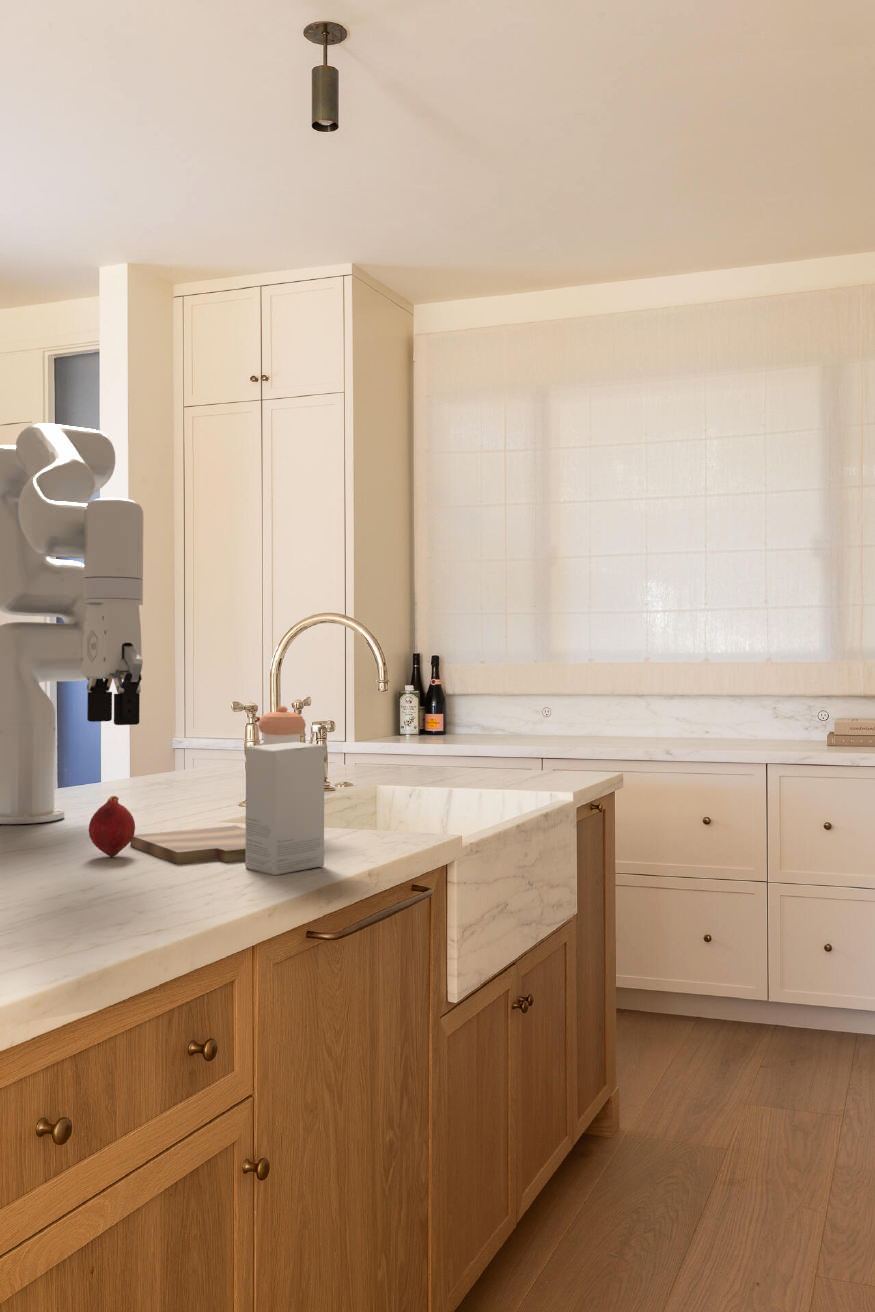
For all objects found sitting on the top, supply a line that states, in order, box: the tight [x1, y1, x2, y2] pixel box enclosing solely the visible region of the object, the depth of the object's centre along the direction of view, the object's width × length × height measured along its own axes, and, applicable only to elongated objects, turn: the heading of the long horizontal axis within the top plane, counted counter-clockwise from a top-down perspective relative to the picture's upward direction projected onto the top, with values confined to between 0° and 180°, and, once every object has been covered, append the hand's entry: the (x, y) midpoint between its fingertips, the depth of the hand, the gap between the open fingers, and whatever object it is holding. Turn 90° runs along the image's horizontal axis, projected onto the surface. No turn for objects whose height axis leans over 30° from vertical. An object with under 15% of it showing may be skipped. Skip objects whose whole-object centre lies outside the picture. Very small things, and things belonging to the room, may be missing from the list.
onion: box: [88, 795, 136, 858], centre depth 145 cm, size 6×6×8 cm
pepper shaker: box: [257, 705, 307, 745], centre depth 164 cm, size 7×7×19 cm
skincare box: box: [244, 741, 326, 876], centre depth 138 cm, size 8×7×16 cm
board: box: [129, 825, 246, 865], centre depth 150 cm, size 18×16×2 cm
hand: (112, 723), depth 145 cm, fingers open, 9 cm apart
